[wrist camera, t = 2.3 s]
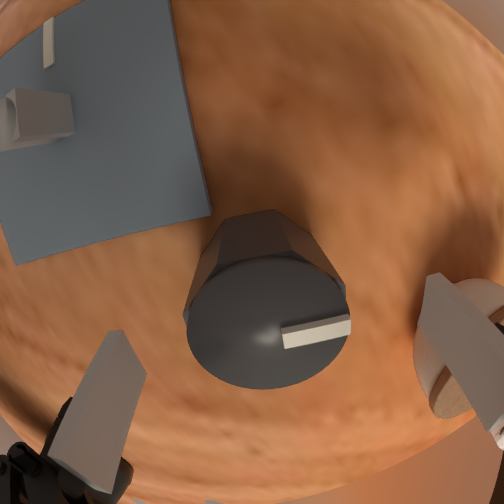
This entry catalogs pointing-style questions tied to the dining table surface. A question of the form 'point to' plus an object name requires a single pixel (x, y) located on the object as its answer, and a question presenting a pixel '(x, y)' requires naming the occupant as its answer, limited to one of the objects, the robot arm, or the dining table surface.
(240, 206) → the dining table surface
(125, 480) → the robot arm
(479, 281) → the lidded jar
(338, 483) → the dining table surface
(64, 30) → the shaft plate
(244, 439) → the dining table surface
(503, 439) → the jar
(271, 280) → the knob
